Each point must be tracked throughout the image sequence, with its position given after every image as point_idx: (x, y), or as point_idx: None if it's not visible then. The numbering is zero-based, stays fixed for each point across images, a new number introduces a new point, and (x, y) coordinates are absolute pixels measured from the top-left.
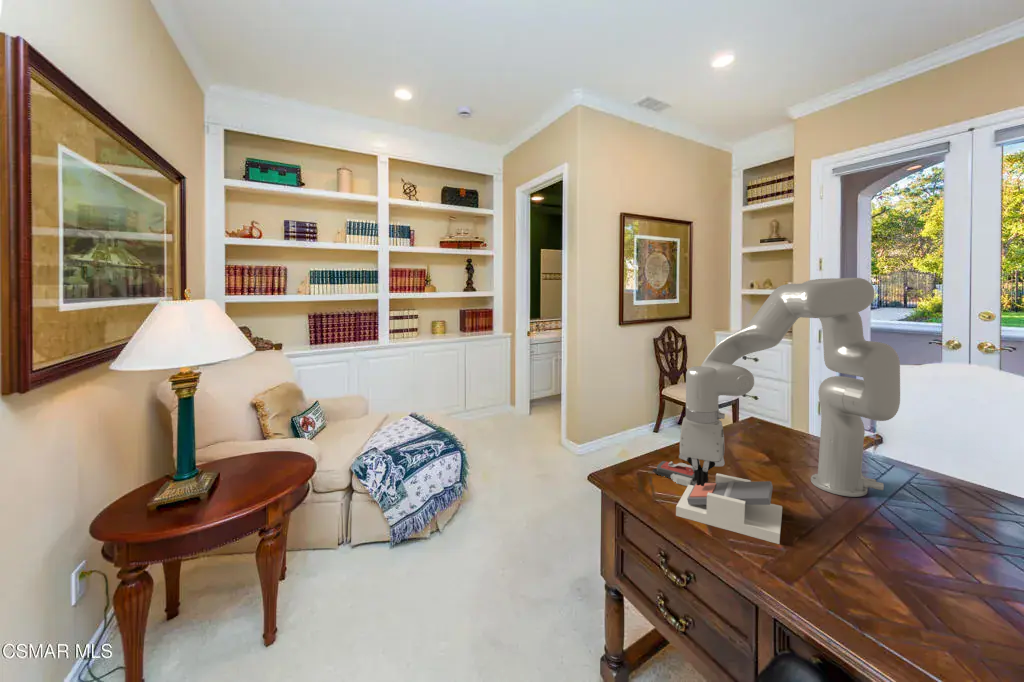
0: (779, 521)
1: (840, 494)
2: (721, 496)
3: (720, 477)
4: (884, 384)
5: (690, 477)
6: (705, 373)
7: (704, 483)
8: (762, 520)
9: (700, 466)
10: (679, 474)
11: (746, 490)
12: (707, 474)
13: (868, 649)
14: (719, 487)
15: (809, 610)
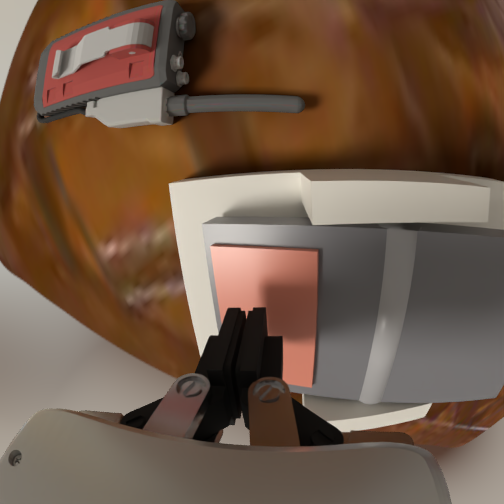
0: None
1: None
2: (356, 423)
3: (342, 221)
4: None
5: (152, 88)
6: None
7: (267, 332)
8: None
9: (224, 399)
10: (108, 96)
11: (459, 342)
12: (281, 373)
13: (462, 439)
14: (341, 298)
15: (436, 437)
